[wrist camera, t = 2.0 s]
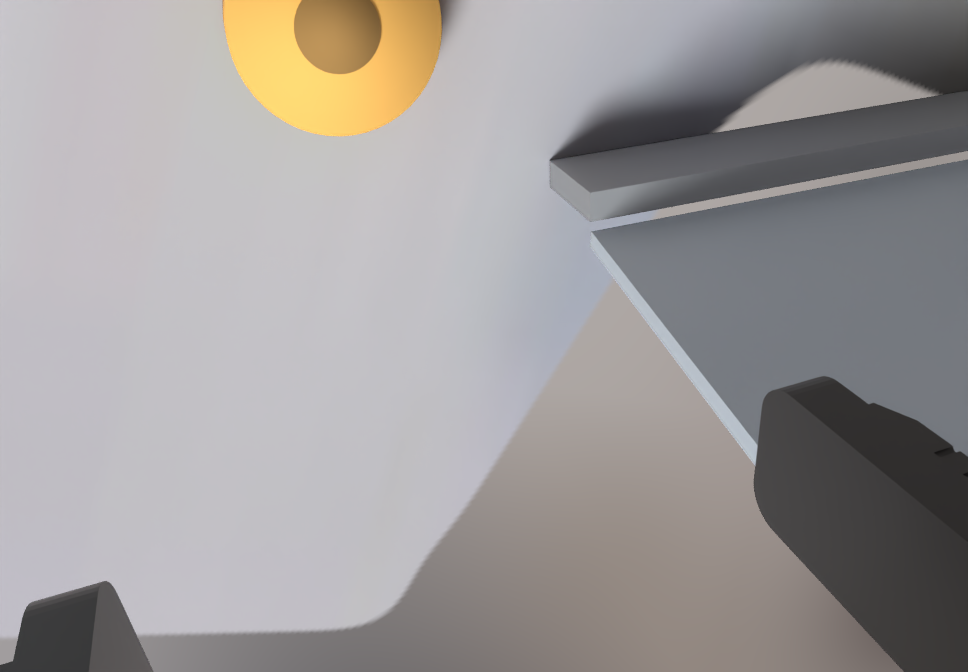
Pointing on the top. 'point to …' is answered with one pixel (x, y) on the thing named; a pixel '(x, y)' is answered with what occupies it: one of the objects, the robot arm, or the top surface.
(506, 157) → the top surface
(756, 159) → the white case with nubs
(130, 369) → the top surface
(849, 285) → the cover
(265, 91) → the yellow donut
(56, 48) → the top surface
